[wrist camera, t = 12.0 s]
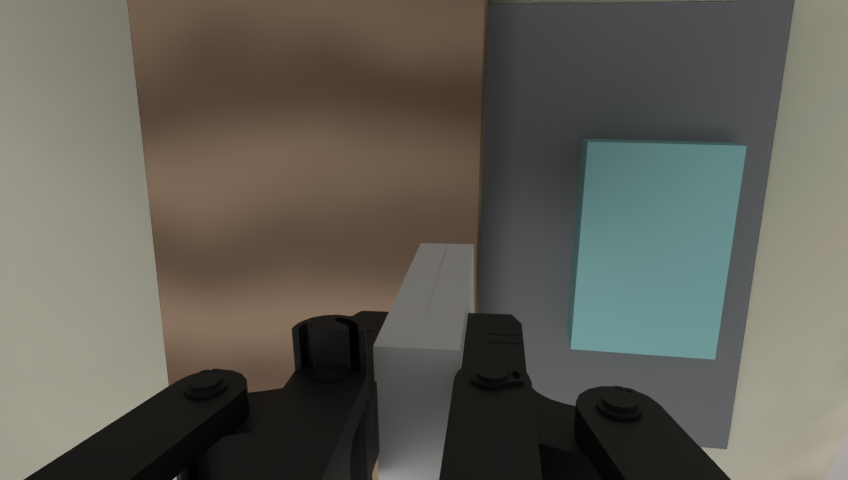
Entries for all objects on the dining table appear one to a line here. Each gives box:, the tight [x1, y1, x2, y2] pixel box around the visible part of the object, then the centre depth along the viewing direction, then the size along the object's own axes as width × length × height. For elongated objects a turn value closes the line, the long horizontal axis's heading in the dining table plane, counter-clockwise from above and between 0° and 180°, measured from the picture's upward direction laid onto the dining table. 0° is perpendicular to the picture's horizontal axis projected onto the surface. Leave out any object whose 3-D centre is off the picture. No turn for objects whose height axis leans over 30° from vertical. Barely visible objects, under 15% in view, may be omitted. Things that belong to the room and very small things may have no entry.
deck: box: [127, 0, 489, 480], centre depth 26 cm, size 22×14×4 cm, turn 0°
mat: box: [478, 0, 794, 449], centre depth 26 cm, size 20×12×1 cm, turn 0°
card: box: [566, 139, 747, 360], centre depth 25 cm, size 9×6×2 cm, turn 179°
